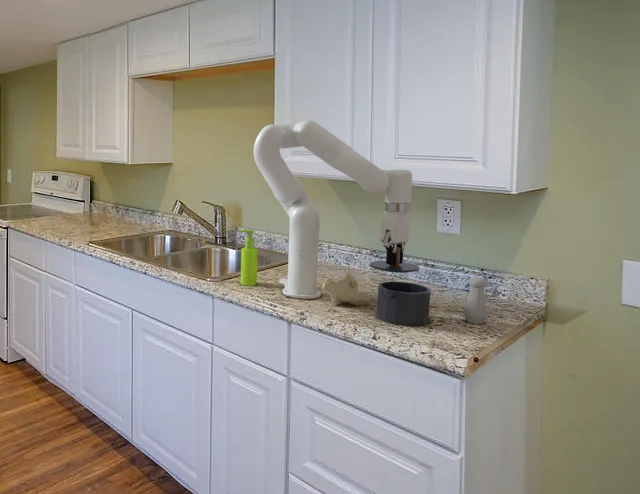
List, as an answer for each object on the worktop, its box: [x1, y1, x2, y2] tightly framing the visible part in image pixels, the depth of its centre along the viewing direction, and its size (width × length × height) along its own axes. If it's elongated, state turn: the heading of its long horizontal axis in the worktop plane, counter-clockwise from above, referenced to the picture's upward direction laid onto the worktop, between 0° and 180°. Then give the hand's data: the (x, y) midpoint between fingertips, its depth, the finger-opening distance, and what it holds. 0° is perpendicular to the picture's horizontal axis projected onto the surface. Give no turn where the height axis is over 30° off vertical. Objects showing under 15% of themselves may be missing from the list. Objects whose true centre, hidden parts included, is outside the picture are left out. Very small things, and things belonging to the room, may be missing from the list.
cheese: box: [321, 273, 372, 306], centre depth 177 cm, size 15×7×15 cm
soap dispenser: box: [238, 229, 259, 287], centre depth 202 cm, size 6×7×20 cm
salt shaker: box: [463, 276, 488, 325], centre depth 159 cm, size 6×6×13 cm
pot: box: [376, 281, 432, 327], centre depth 162 cm, size 14×19×10 cm
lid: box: [369, 247, 420, 274], centre depth 180 cm, size 15×15×7 cm
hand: (394, 263), depth 180 cm, fingers closed on lid, 3 cm apart
